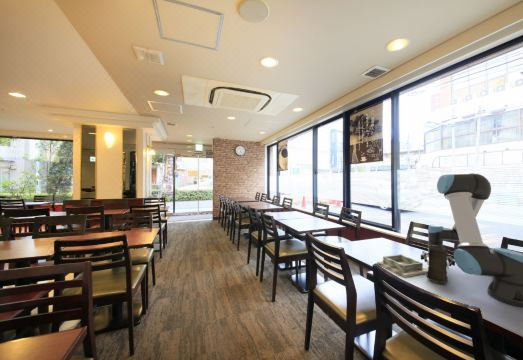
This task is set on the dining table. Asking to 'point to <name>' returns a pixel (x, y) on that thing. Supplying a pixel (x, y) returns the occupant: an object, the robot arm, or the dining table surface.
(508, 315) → the dining table surface
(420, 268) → the collar board
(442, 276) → the container
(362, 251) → the dining table surface
